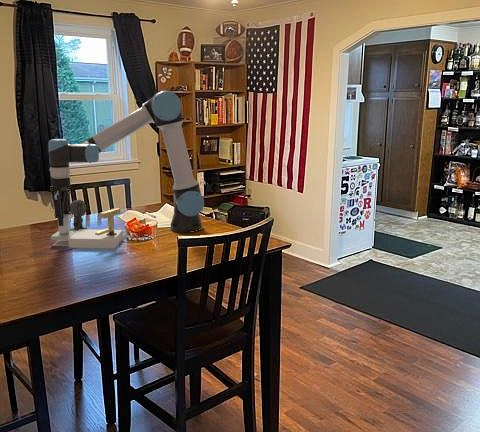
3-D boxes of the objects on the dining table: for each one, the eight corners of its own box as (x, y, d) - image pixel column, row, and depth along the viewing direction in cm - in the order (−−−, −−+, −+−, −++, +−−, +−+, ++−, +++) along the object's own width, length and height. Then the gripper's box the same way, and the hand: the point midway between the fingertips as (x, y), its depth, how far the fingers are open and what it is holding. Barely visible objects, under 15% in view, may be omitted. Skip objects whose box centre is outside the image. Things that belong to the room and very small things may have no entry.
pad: (78, 239, 207) (78, 238, 207) (70, 246, 197) (69, 245, 197) (61, 238, 207) (61, 238, 207) (52, 245, 197) (52, 245, 197)
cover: (77, 234, 206) (76, 212, 203) (70, 240, 197) (68, 218, 194) (59, 233, 206) (57, 212, 203) (51, 239, 197) (49, 217, 194)
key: (117, 230, 206) (116, 208, 203) (121, 231, 205) (120, 208, 202) (95, 238, 194) (93, 214, 191) (99, 239, 193) (98, 215, 190)
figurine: (86, 234, 214) (84, 202, 210) (64, 233, 214) (62, 201, 211) (92, 229, 222) (90, 198, 219) (71, 228, 223) (69, 197, 219)
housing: (123, 238, 209) (122, 229, 208) (114, 248, 195) (114, 239, 194) (80, 237, 209) (79, 228, 208) (68, 247, 195) (68, 238, 194)
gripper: (59, 173, 203) (63, 225, 209) (42, 180, 187) (47, 236, 192) (76, 173, 203) (79, 226, 209) (61, 180, 187) (65, 237, 192)
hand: (64, 231), depth 201 cm, fingers closed on cover, 4 cm apart
